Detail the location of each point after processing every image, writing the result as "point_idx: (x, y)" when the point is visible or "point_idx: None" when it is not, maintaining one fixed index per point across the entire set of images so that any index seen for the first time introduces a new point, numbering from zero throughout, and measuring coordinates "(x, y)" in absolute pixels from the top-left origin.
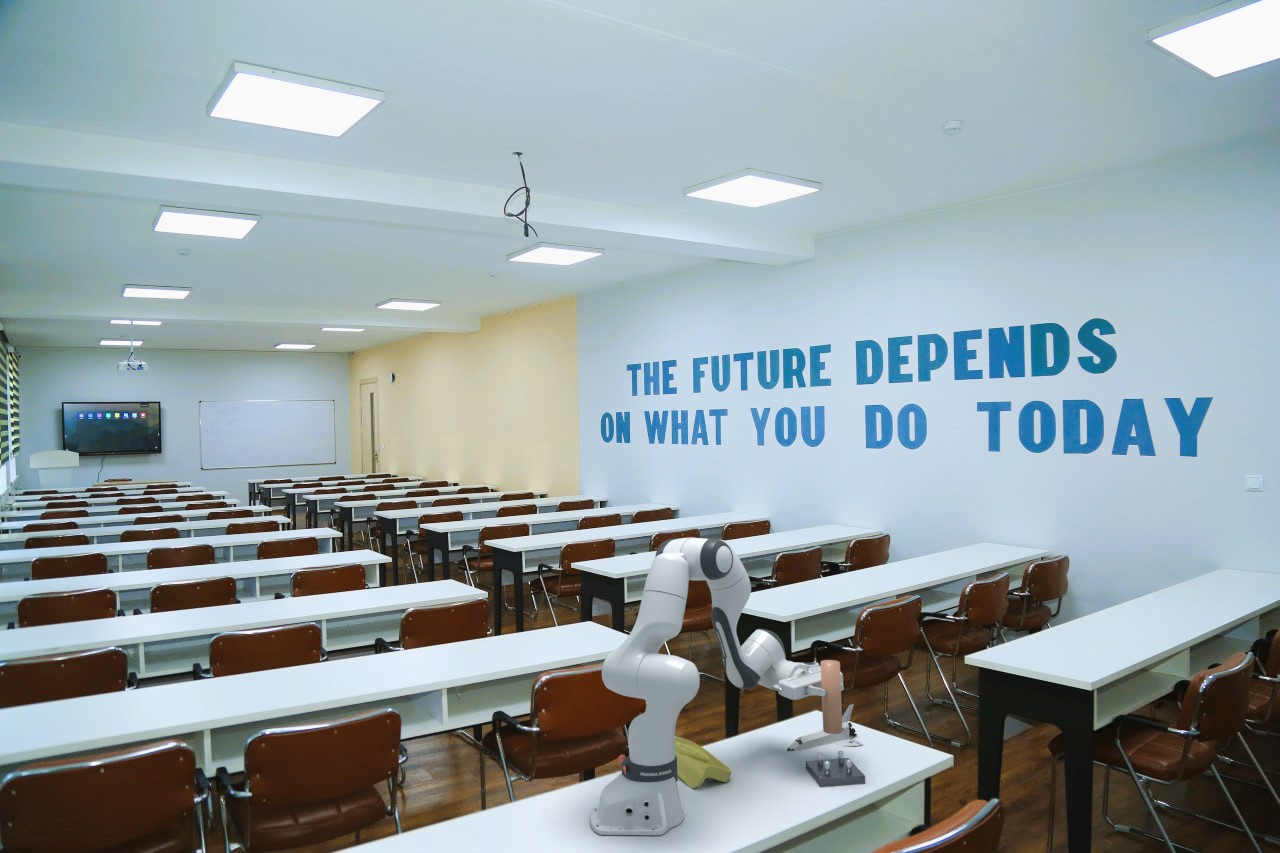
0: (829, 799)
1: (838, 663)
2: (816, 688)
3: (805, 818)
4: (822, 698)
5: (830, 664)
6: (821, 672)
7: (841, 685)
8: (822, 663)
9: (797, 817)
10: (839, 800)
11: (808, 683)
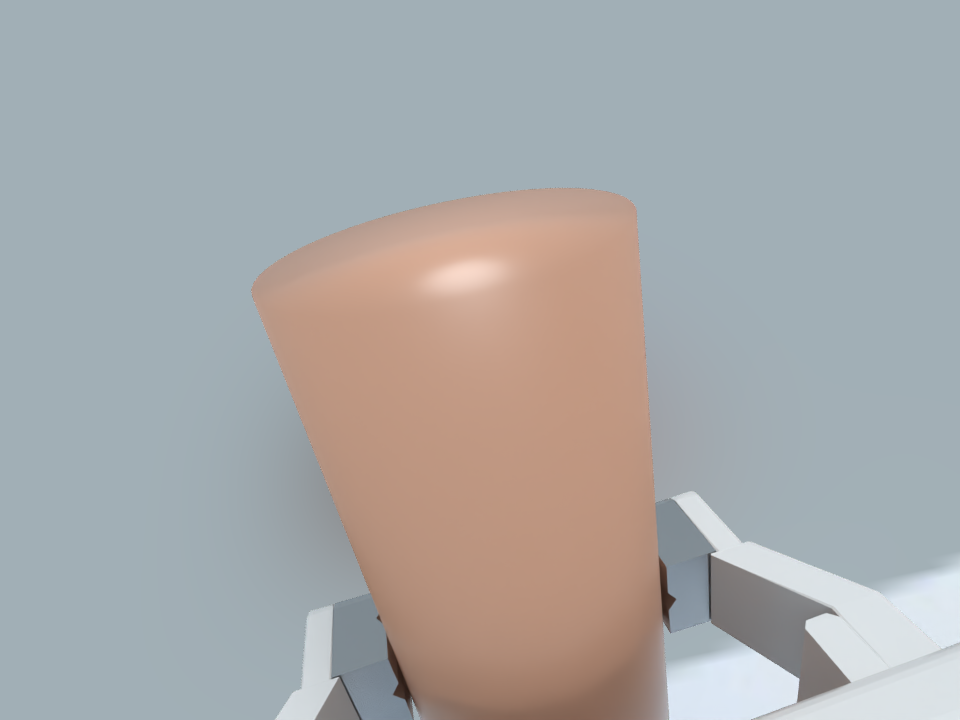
0: (758, 699)
1: (375, 221)
2: (773, 555)
3: (905, 585)
4: (667, 695)
5: (517, 196)
6: (646, 393)
7: (349, 600)
8: (620, 205)
9: (945, 600)
10: (712, 675)
11: (933, 655)
